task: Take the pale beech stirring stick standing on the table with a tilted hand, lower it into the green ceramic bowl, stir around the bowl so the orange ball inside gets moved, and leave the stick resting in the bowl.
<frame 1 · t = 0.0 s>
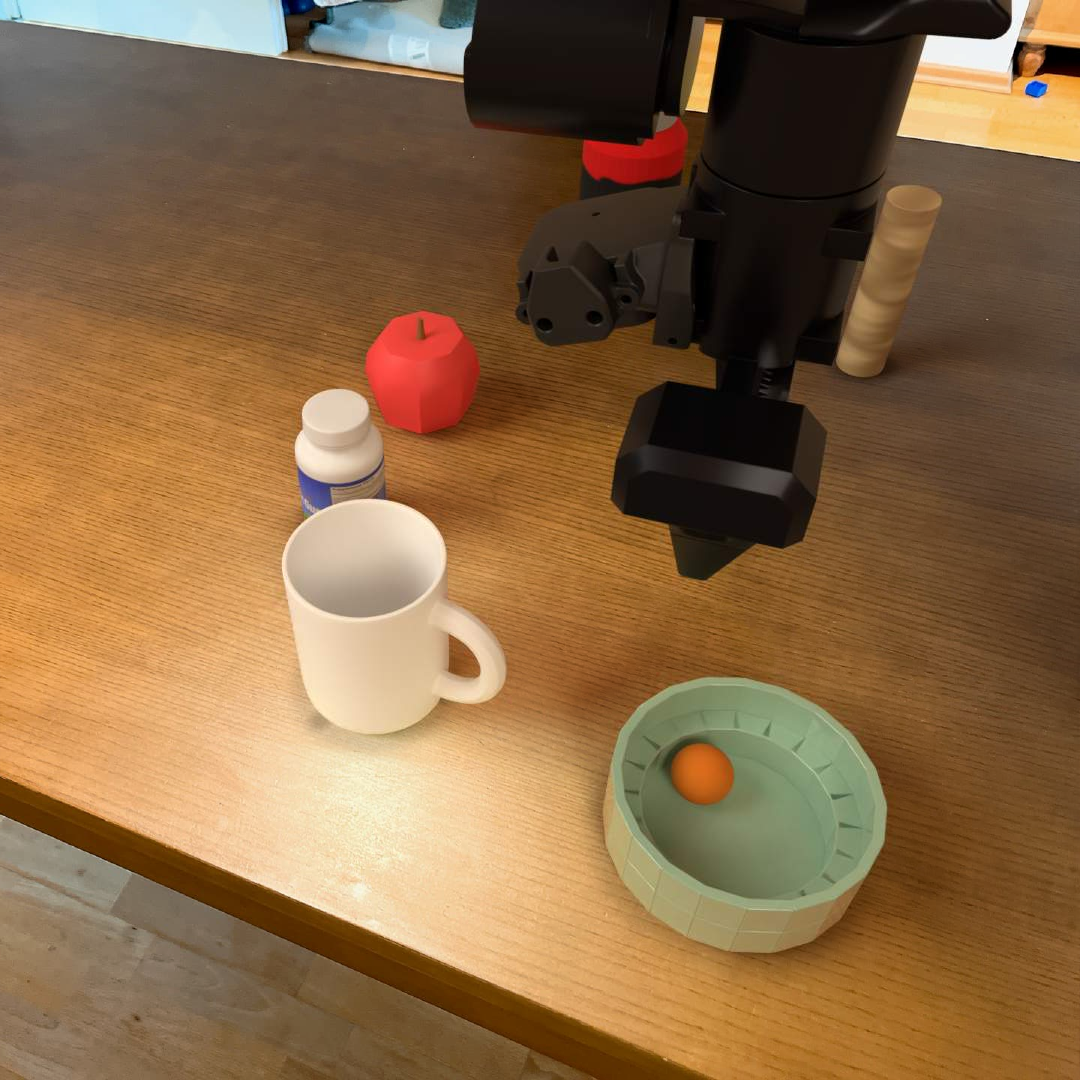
hand: (711, 498, 46), 16 cm above the table, tool pointing down, fingers open, 9 cm apart
mug: (405, 692, 60), on the table
apple: (424, 414, 76), on the table
soda can: (620, 260, 88), on the table
bowl: (726, 836, 53), on the table
stick: (859, 363, 76), on the table
bead: (702, 773, 53), point 2 cm above the table, touching bowl
pill bottle: (347, 527, 69), on the table
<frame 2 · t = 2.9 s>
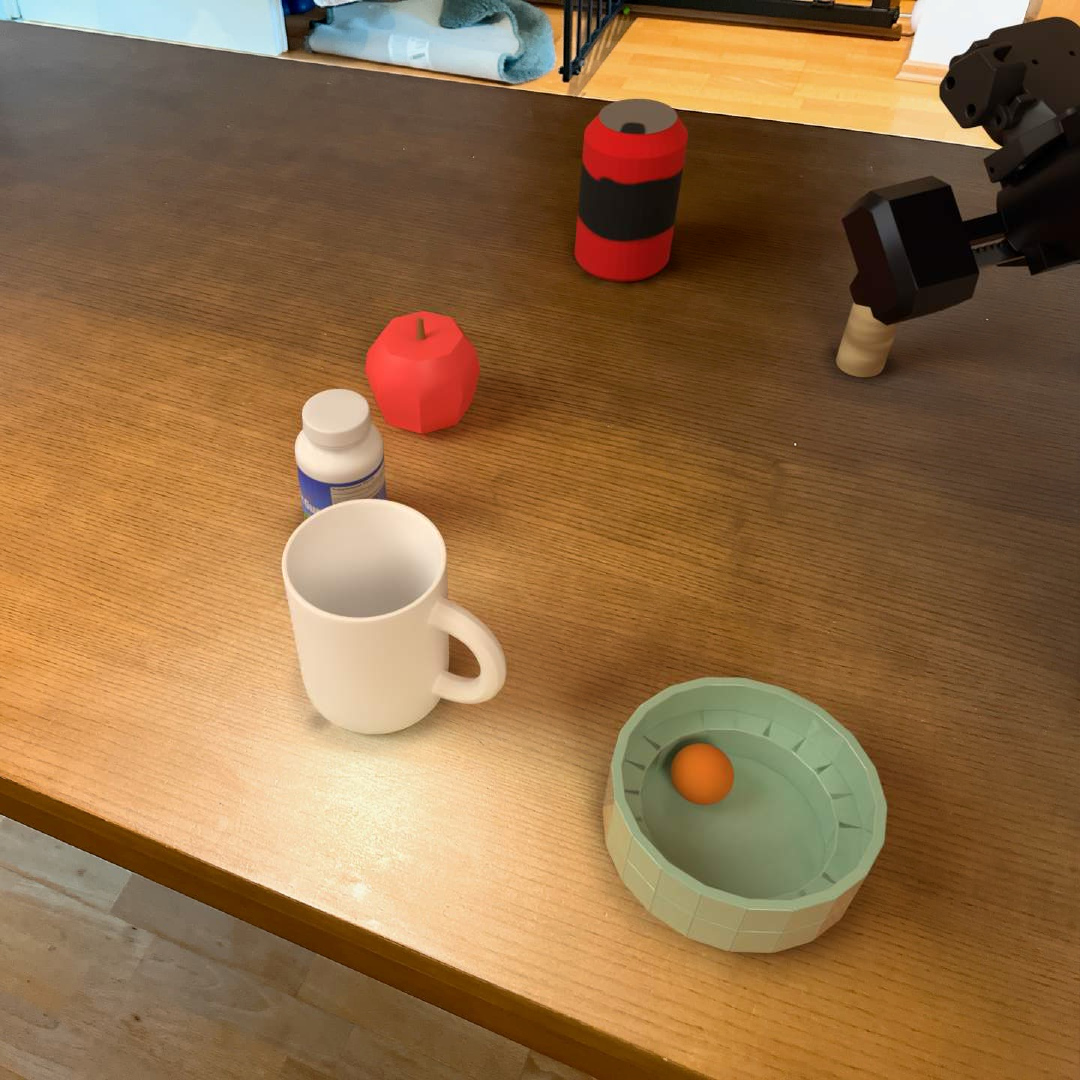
hand: (925, 276, 61), 13 cm above the table, tool tilted 40°, fingers open, 9 cm apart
nothing on the table moved.
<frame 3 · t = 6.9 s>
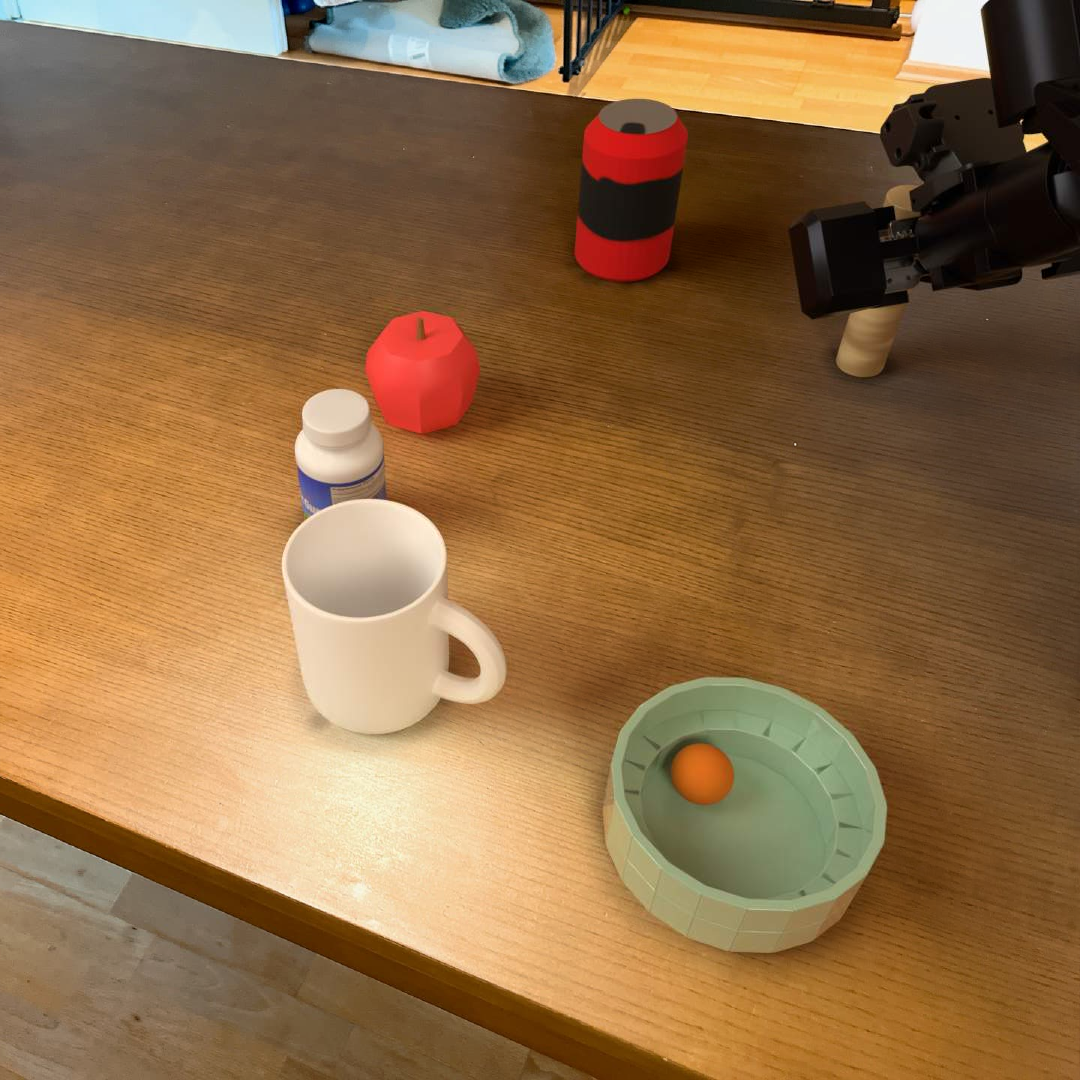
hand: (875, 273, 73), 7 cm above the table, tool tilted 45°, fingers closed on stick, 3 cm apart
stick: (859, 363, 76), on the table, touching gripper
everything else where it was.
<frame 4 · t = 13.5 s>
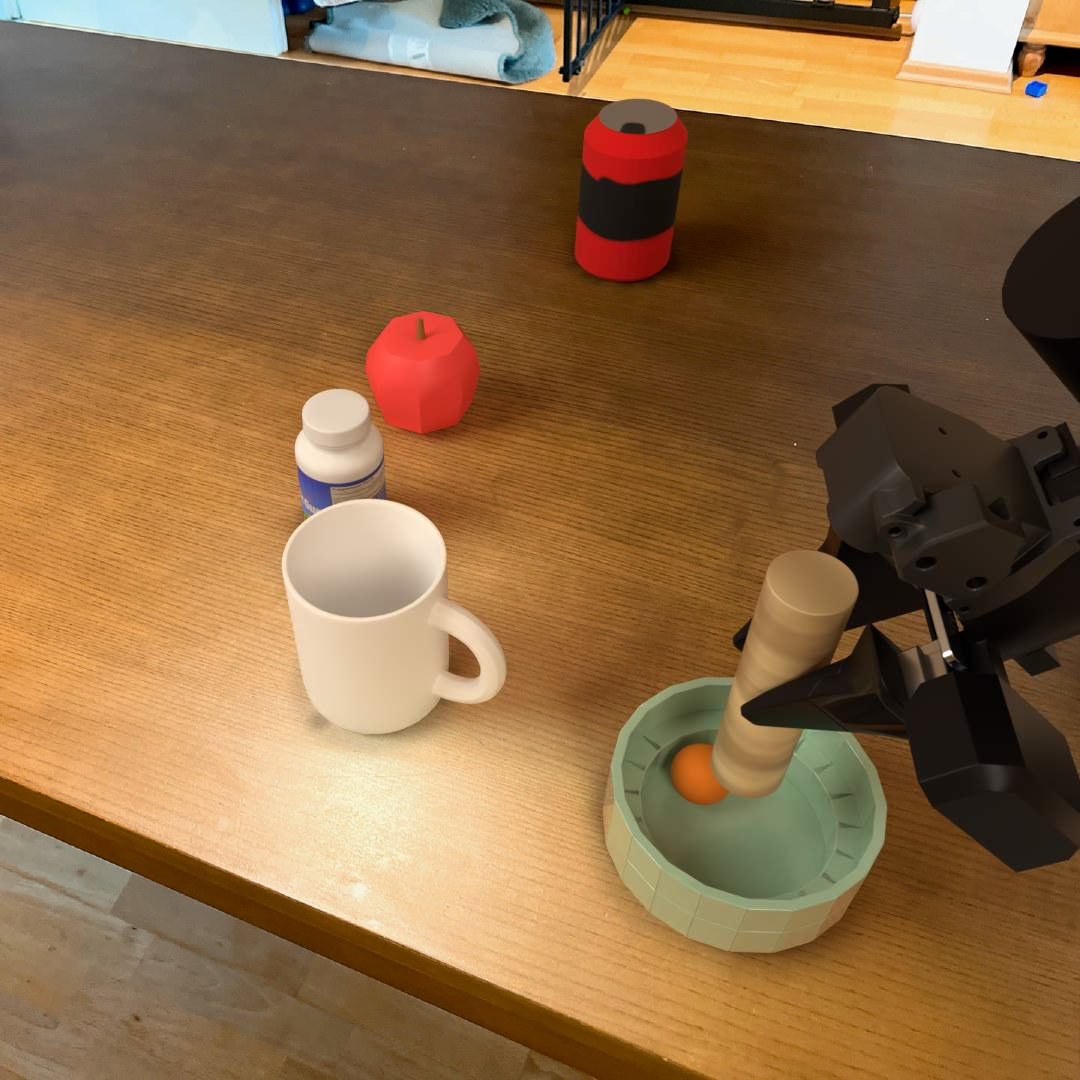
hand: (742, 680, 44), 13 cm above the table, tool tilted 45°, fingers closed on stick, 3 cm apart
stick: (746, 767, 49), point 6 cm above the table, touching gripper
everything else where it was.
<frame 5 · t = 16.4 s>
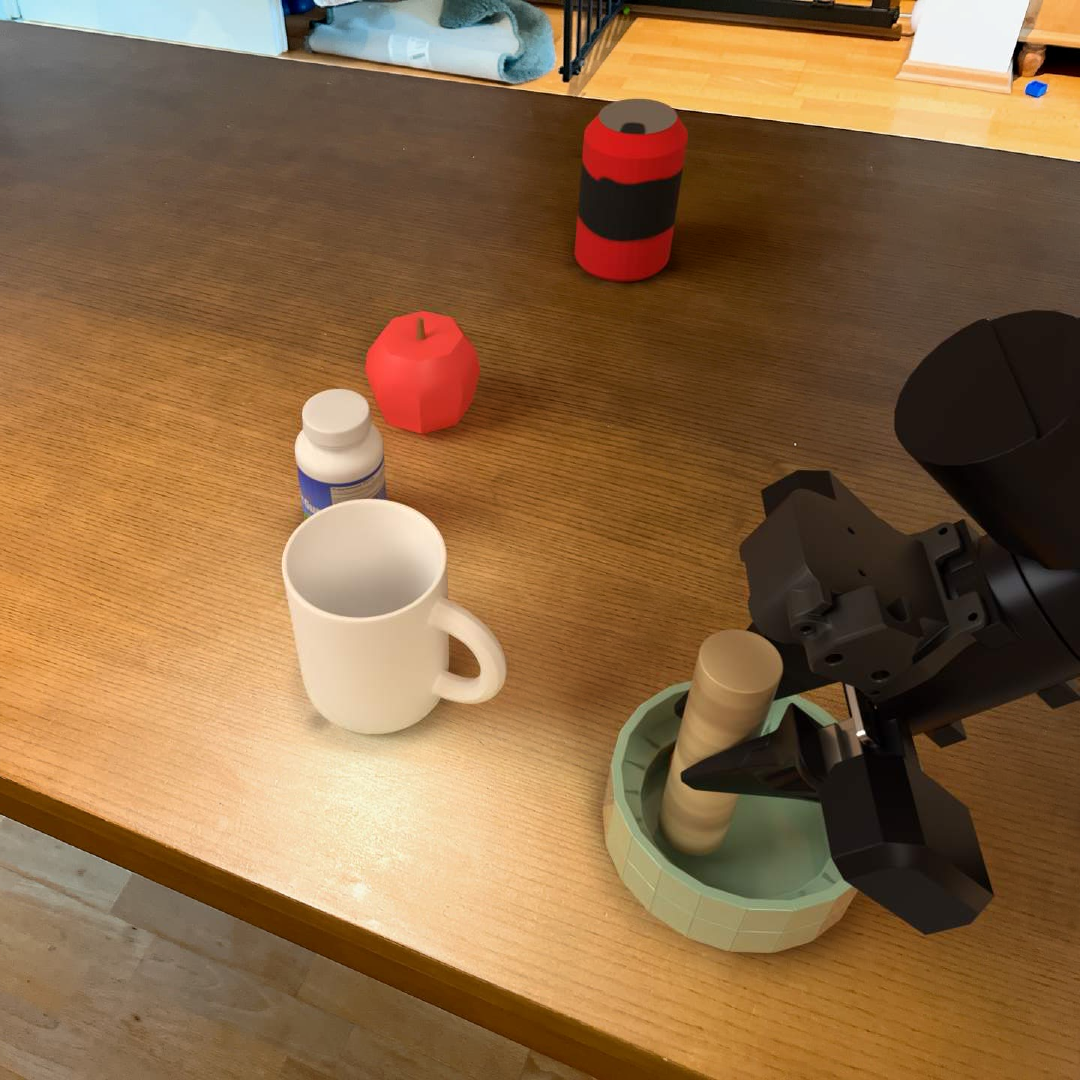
hand: (682, 747, 47), 8 cm above the table, tool tilted 45°, fingers closed on stick, 3 cm apart
stick: (691, 825, 52), point 2 cm above the table, touching bead, gripper
bead: (700, 766, 53), point 2 cm above the table, tilted 14°, touching bowl, stick
everything else where it was.
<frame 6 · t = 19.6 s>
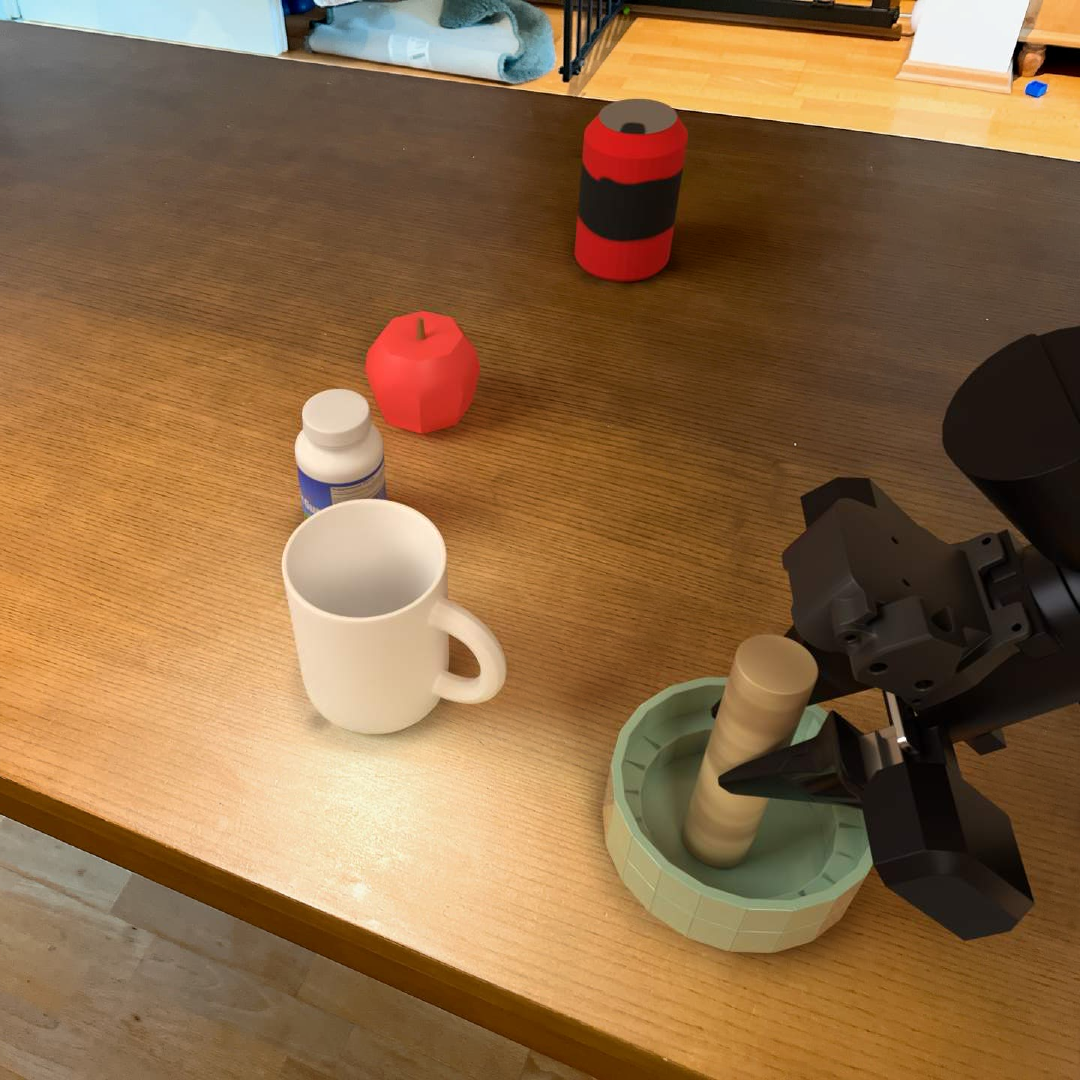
hand: (719, 750, 48), 8 cm above the table, tool tilted 45°, fingers closed on stick, 3 cm apart
stick: (715, 838, 52), point 1 cm above the table, touching gripper
bead: (741, 765, 53), point 2 cm above the table, tilted 41°, touching bowl
everything else where it was.
when the fingers open (7 cm above the table, at t = 19.9 s): stick stays where it is, resting on bowl.
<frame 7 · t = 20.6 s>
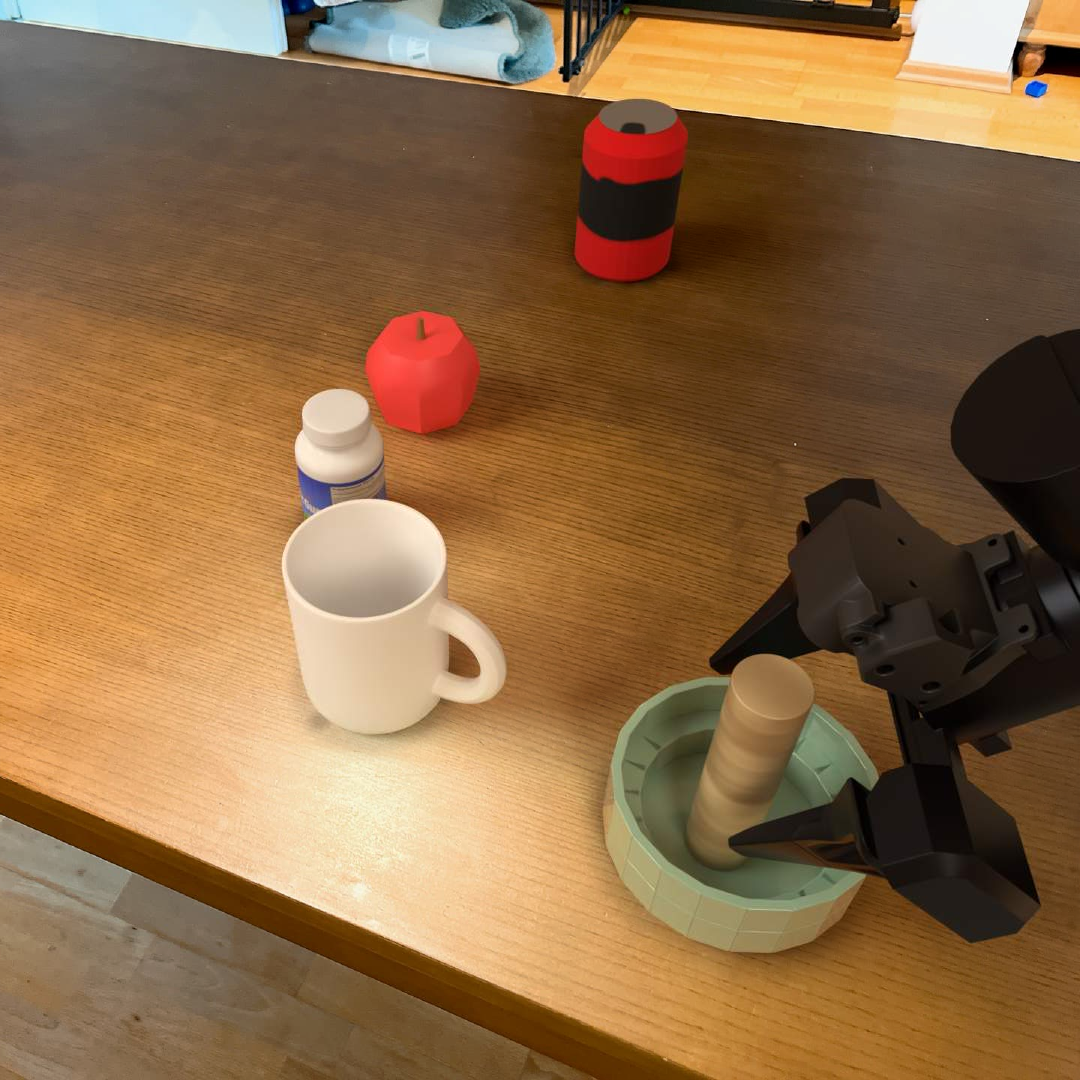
hand: (723, 751, 47), 8 cm above the table, tool tilted 45°, fingers open, 9 cm apart
stick: (717, 840, 52), resting on bowl
everything else where it was.
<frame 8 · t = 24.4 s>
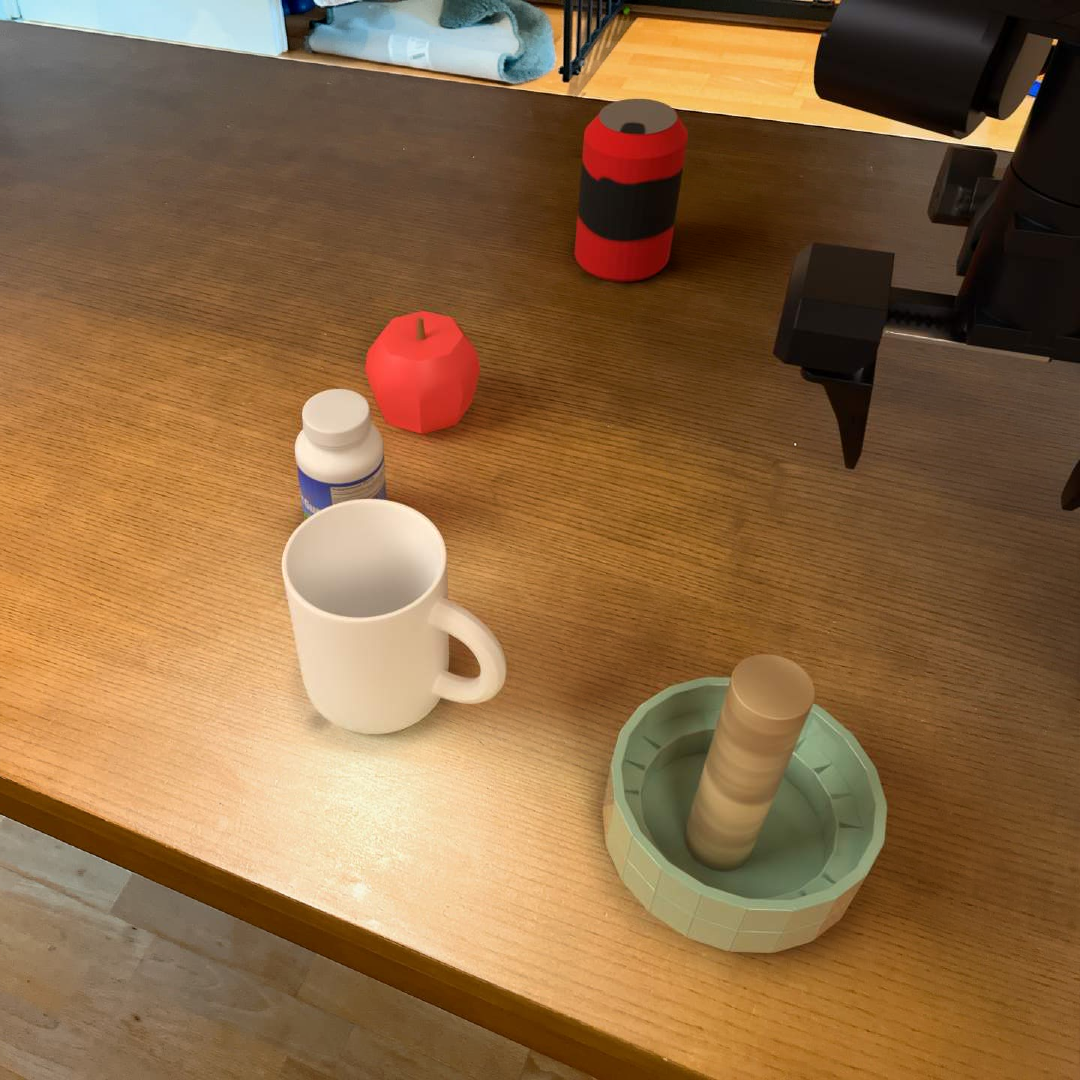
hand: (954, 482, 50), 13 cm above the table, tool pointing down, fingers open, 9 cm apart
nothing on the table moved.
at the end: bead moved 1.8 cm from its start; bead inside the target area in the bowl (2.4 cm from its centre), point 2.0 cm above the bowl's base; stick inside the target area in the bowl (0.8 cm from its centre), point 0.5 cm above the bowl's base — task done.
